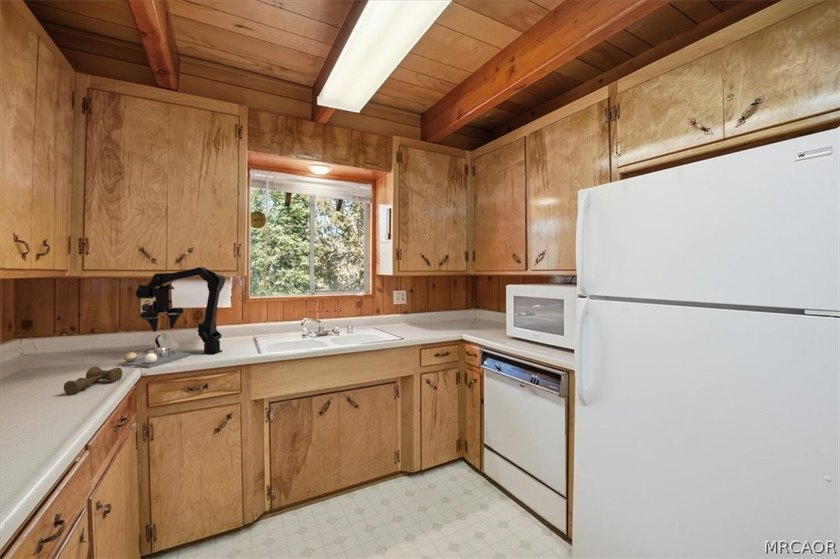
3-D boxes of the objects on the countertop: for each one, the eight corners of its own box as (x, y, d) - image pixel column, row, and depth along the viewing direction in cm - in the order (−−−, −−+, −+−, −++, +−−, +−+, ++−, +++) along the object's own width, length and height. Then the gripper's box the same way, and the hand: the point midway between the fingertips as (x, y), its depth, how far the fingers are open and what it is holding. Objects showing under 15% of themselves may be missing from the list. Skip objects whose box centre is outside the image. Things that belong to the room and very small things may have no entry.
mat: (190, 355, 170) (190, 353, 170) (149, 368, 150) (149, 365, 150) (163, 354, 173) (163, 351, 173) (119, 366, 153) (119, 363, 153)
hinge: (169, 353, 175) (160, 335, 174) (158, 357, 174) (149, 339, 172) (179, 346, 191) (171, 329, 189) (169, 349, 189) (161, 333, 188)
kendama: (55, 397, 119) (106, 376, 139) (84, 397, 119) (131, 376, 139) (54, 379, 118) (106, 361, 138) (83, 380, 118) (130, 362, 138)
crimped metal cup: (180, 353, 170) (180, 348, 170) (161, 358, 160) (160, 353, 160) (163, 352, 172) (163, 347, 172) (142, 357, 162) (142, 352, 162)
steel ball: (170, 354, 168) (170, 345, 168) (161, 356, 164) (162, 347, 164) (162, 354, 169) (162, 345, 169) (154, 356, 165) (154, 346, 165)
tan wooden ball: (139, 360, 157) (139, 351, 157) (129, 363, 153) (129, 353, 152) (131, 360, 158) (131, 350, 158) (121, 363, 154) (121, 353, 153)
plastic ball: (159, 362, 155) (159, 352, 155) (150, 364, 150) (150, 354, 150) (151, 361, 156) (151, 351, 155) (142, 364, 151) (141, 354, 151)
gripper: (165, 296, 183) (165, 326, 183) (129, 300, 164) (130, 333, 165) (183, 297, 181) (184, 326, 181) (150, 300, 162) (151, 333, 163)
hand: (163, 329), depth 173 cm, fingers open, 9 cm apart
